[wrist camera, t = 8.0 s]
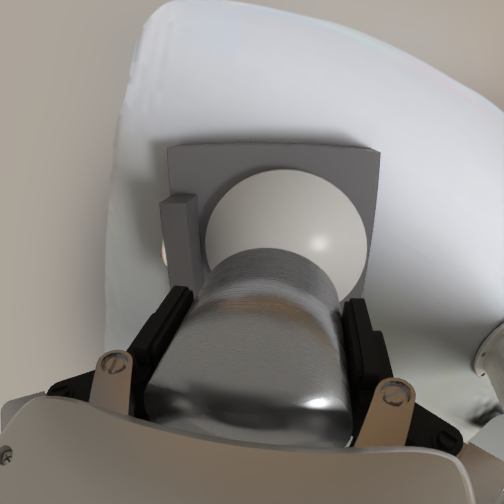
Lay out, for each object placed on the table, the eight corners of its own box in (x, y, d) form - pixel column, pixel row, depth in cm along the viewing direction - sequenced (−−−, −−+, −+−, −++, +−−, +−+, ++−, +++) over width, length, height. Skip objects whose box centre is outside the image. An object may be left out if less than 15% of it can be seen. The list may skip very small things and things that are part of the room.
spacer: (349, 252, 11) (379, 371, 6) (329, 364, 13) (329, 475, 8) (194, 243, 12) (117, 343, 6) (208, 354, 14) (168, 454, 9)
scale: (372, 149, 25) (390, 157, 20) (350, 315, 34) (356, 351, 28) (176, 145, 28) (148, 152, 23) (192, 303, 36) (174, 335, 31)
